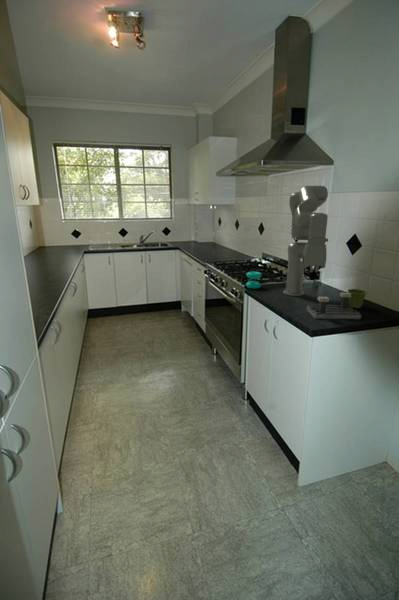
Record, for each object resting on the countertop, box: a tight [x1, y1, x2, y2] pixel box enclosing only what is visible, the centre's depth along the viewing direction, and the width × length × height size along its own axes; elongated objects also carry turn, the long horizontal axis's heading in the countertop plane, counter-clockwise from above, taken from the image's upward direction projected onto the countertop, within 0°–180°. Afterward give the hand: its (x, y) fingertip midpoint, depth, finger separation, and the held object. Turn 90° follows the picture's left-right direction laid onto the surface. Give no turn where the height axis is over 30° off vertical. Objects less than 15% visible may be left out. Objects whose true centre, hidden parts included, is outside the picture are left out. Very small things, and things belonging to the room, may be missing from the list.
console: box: [306, 304, 362, 320], centre depth 160 cm, size 14×22×3 cm, turn 88°
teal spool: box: [245, 271, 263, 290], centre depth 210 cm, size 10×10×10 cm
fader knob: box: [317, 296, 330, 313], centre depth 155 cm, size 3×4×8 cm
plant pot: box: [347, 288, 368, 309], centre depth 171 cm, size 9×9×9 cm
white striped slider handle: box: [339, 292, 352, 308], centre depth 162 cm, size 3×4×8 cm
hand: (312, 279), depth 151 cm, fingers closed
